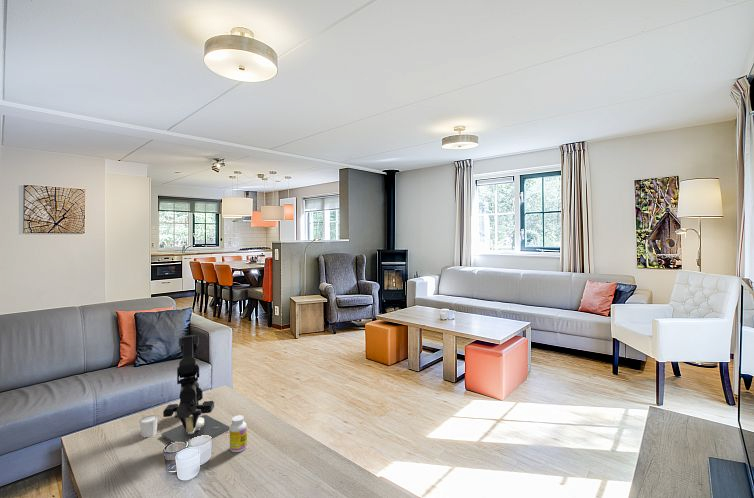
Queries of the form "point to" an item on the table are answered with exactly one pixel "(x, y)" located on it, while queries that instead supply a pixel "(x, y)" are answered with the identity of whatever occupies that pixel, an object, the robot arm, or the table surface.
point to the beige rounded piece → (189, 424)
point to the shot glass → (148, 426)
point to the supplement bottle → (238, 434)
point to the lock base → (204, 430)
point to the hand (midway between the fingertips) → (190, 428)
